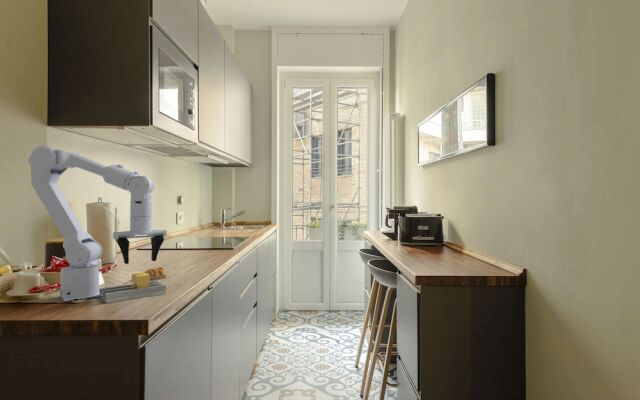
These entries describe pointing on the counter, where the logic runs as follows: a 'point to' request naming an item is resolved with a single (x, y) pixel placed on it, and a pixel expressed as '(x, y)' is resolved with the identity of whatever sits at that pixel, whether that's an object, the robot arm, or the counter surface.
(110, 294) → the rail
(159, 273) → the pastry
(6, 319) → the counter surface
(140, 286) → the yellow block with ridge
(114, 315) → the counter surface
